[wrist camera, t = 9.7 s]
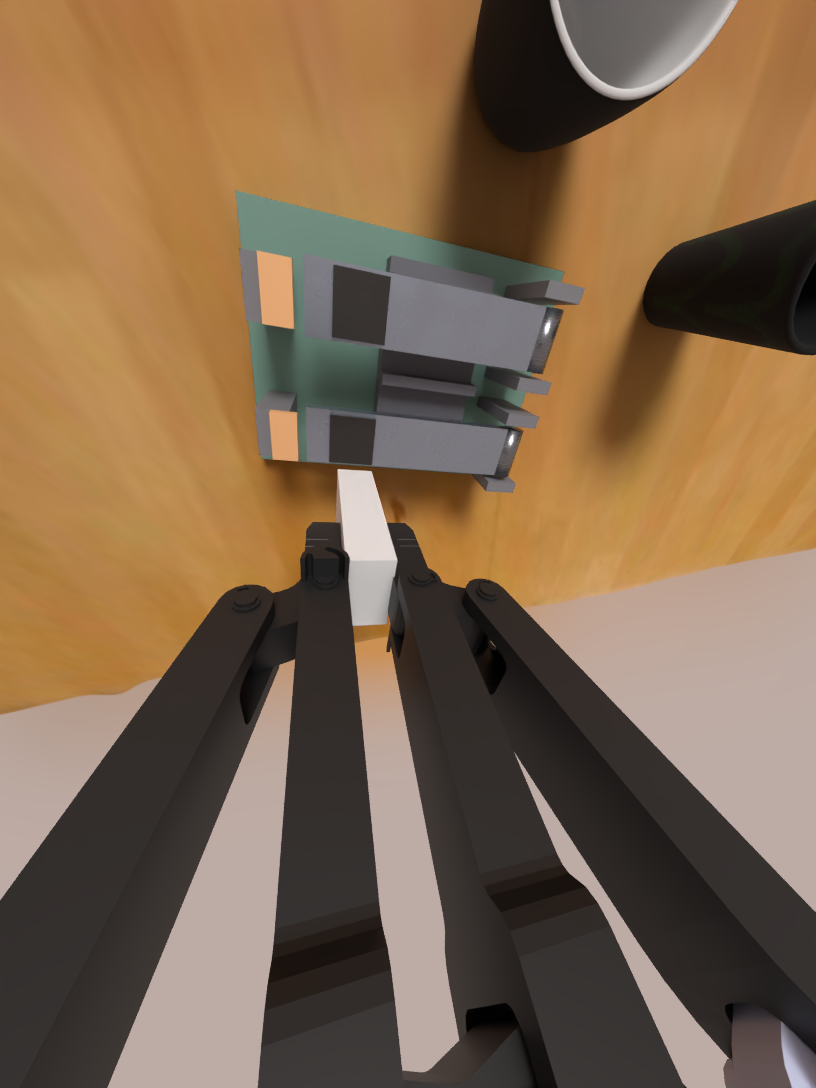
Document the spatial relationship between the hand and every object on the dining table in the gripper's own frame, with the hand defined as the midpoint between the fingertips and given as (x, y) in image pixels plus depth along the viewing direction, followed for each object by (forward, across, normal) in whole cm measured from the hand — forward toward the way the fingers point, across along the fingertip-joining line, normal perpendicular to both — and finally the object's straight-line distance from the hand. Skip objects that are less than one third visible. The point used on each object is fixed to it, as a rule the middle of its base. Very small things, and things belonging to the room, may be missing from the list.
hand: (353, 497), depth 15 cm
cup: (+16, +27, +13) cm, 33 cm away
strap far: (+10, +6, 0) cm, 12 cm away
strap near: (+10, +5, +7) cm, 14 cm away
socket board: (+16, +5, +4) cm, 17 cm away
